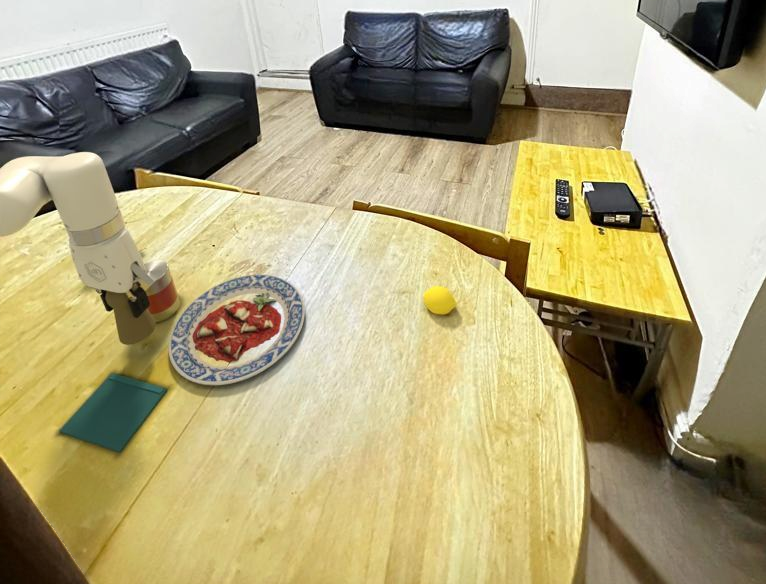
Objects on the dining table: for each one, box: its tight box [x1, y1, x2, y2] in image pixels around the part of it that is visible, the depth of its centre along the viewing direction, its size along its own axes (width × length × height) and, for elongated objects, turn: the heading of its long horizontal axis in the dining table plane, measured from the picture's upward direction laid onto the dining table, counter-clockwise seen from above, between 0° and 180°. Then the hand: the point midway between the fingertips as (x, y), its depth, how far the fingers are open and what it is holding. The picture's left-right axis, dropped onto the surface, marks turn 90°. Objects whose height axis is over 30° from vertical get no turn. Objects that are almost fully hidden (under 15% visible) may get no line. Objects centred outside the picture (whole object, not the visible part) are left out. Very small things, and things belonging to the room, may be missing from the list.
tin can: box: [144, 259, 181, 323], centre depth 86 cm, size 7×7×11 cm
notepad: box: [58, 372, 168, 454], centre depth 68 cm, size 12×10×1 cm
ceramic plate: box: [167, 274, 306, 386], centre depth 82 cm, size 26×26×3 cm
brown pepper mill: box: [106, 283, 157, 346], centre depth 74 cm, size 6×6×11 cm
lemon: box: [422, 285, 458, 316], centre depth 85 cm, size 7×5×5 cm
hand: (128, 307), depth 74 cm, fingers closed on brown pepper mill, 5 cm apart
